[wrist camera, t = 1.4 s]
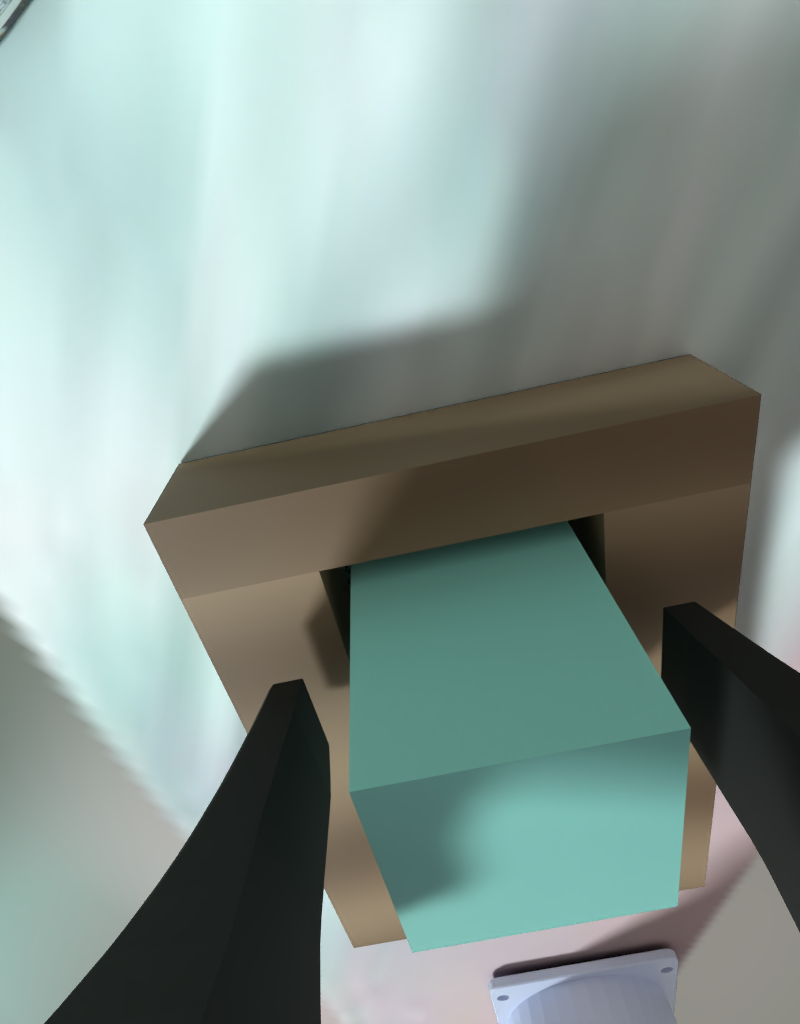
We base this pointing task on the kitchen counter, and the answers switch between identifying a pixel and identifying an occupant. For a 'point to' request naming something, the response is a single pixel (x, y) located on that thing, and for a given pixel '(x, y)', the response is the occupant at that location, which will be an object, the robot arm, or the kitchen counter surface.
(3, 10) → the syrup box
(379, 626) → the teal block
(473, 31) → the kitchen counter surface
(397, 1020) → the kitchen counter surface
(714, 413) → the pocket plate
